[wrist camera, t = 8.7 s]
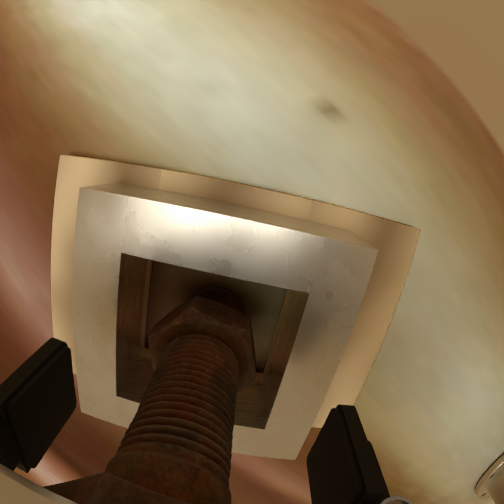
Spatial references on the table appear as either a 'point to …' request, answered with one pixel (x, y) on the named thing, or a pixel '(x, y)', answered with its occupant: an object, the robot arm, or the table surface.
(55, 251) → the beech board
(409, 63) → the table surface
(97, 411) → the steel socket collar
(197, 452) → the bolt
